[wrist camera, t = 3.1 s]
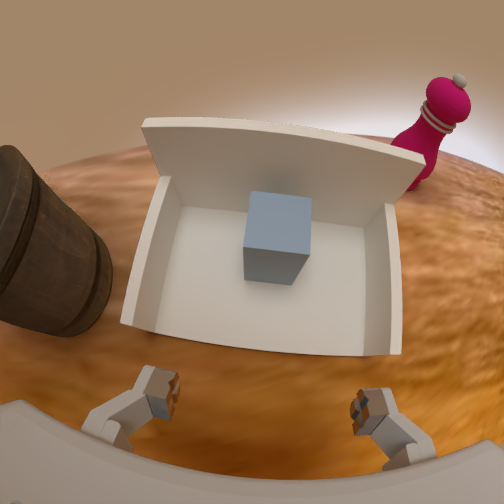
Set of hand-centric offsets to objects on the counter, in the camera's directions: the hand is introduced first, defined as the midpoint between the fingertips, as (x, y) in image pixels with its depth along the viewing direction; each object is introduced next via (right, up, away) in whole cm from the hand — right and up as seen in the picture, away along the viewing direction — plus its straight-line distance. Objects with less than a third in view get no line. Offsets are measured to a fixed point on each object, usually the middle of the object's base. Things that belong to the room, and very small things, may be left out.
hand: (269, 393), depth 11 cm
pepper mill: (+22, +18, +25) cm, 38 cm away
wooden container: (-25, +2, +18) cm, 31 cm away
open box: (+1, +4, +19) cm, 19 cm away
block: (+1, +5, +19) cm, 19 cm away
